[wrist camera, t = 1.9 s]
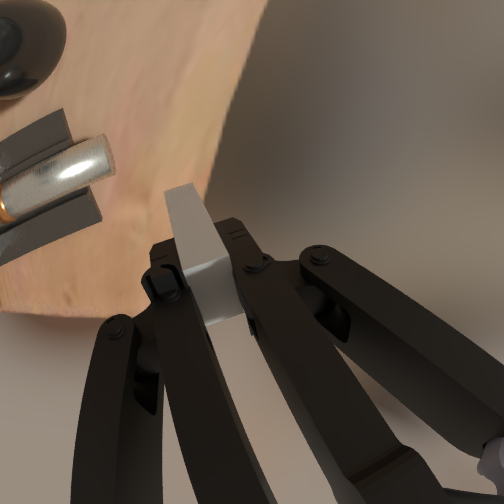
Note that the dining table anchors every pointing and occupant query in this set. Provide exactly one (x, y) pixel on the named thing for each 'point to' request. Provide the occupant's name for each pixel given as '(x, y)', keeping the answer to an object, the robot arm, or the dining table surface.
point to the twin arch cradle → (54, 213)
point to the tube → (56, 178)
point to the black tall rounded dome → (28, 45)
